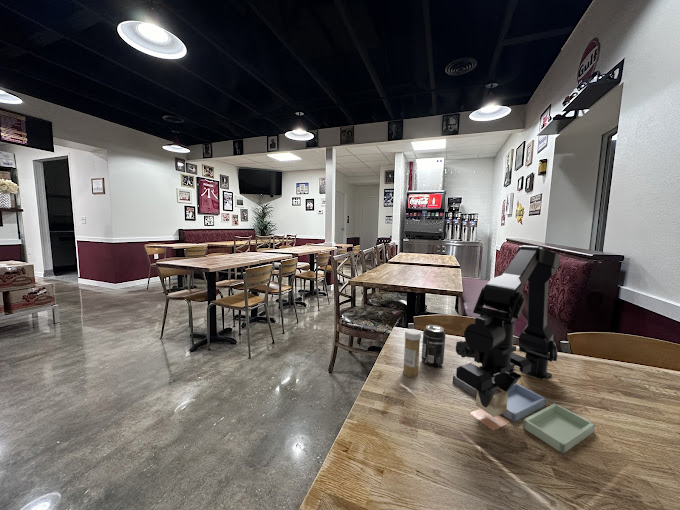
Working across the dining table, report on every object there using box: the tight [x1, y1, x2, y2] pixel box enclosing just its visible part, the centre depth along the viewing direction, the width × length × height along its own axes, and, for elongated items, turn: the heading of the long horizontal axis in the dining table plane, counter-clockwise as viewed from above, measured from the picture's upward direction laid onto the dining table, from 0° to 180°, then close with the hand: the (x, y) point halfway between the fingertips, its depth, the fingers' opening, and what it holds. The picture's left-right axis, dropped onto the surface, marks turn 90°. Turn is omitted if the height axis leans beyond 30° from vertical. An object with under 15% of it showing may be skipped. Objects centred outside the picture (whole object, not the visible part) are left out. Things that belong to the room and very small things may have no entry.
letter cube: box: [475, 388, 508, 417], centre depth 62 cm, size 4×4×5 cm
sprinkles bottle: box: [402, 328, 422, 378], centre depth 81 cm, size 5×5×13 cm
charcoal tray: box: [452, 374, 495, 398], centre depth 76 cm, size 13×8×2 cm, turn 117°
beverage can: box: [421, 324, 446, 368], centre depth 88 cm, size 7×7×12 cm
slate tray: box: [501, 382, 547, 423], centre depth 68 cm, size 13×8×2 cm, turn 117°
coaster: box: [469, 408, 511, 432], centre depth 63 cm, size 6×6×1 cm
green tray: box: [522, 403, 596, 455], centre depth 60 cm, size 13×8×2 cm, turn 117°
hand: (491, 403), depth 63 cm, fingers closed on letter cube, 4 cm apart
